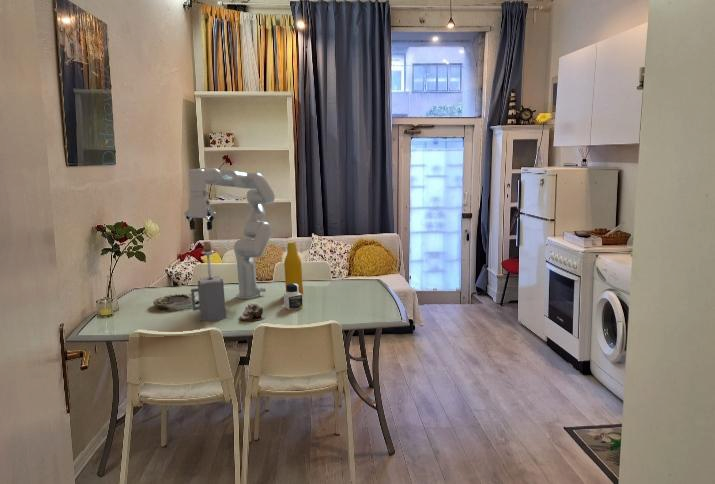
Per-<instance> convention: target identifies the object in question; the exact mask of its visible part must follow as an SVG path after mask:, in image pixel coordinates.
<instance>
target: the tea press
mask: <svg viewBox="0 0 715 484" xmlns="http://www.w3.org/2000/svg"><path fill="white" fill-rule="evenodd" d="M196 281H197V282H196V283H197V288H190V291H191V292H190V294H191V295H192V306H191V307H192V311H199V312H200V314H199V315H200V321H201V322H208V323H210V322H217V321H220V322H221V320H224V319H226V318H227V312H226V311H227V310H226V299H225V297H226V296H225V288H224V286H225V285H224V279H223V278H221V277H220V275H217V276H211V280H209V276H207V277H205V276H204V277H199V280H196ZM209 283H211V284H209ZM195 292H196V293H197V292H198V293H197V294H198V298H199V299H198V301H199V302H198V303H199V305H198V307H197V306H196V303H195V298H194V296H195Z"/></svg>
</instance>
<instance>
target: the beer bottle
mask: <svg viewBox="0 0 715 484" xmlns="http://www.w3.org/2000/svg"><path fill="white" fill-rule="evenodd" d="M286 247H287V248H286V249H287V250H286V251H287V252H286V256H285V259H284V262H283V263H284V265H283V266H284V277H285V278H284V279H285V283H284V284H285V287H286V286H287V285H288V284H292V283H295V284H298V285H299V293H300V294H302V295H303V294H304V287H303V285H304V284H303V267H302V260H301V257H300V255H299V253H298V249H297V242H296V241H288V242H287V246H286ZM285 293H287V290H286V289H285Z"/></svg>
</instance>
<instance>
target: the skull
mask: <svg viewBox="0 0 715 484" xmlns="http://www.w3.org/2000/svg"><path fill="white" fill-rule="evenodd" d="M263 313H264V307H263V305H261V304H260V303H258V302H256V301H251V302H250V303H248V304H247V306H246V307H245V308H244V311H242V315H241V316H240V317H239V319H240V320H241V321H246V322H247V321H248V322H254V321H255V322H256V321H261V320H264V319H265V317H262V316H263Z"/></svg>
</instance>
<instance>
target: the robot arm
mask: <svg viewBox="0 0 715 484" xmlns="http://www.w3.org/2000/svg"><path fill="white" fill-rule="evenodd" d="M188 177H189V179H188V182H189V192H190V193H189V194H190V195H189V196H190V197H189V201H188V210H186V211H184V213H183V214H184V216H185V219H186V220H187V221H188V222H189V229H190V230H191V231H193V230H195V229H196V222H195V219H205V220H206V221H207V222H206V230H207V231H211V230H212V229H213V221H214V219H215V216H216V215H217V212H215V211H214V210H212V206H211V202H210V201H211V200H210V199H209V196H208V195H209V192H208V191H207V185H214V186H220V187H229V188H239V189H247V190H248V189H249V190H248V191H247V192H246V200H247V203H248V205H249V214H248V216H247V219H246V222H245V224H244V227H243V230H242V231H243V232H242V233H243V235H244V236H245V238H239V239H238V240H236V241H235V243H234V245H233V252H234V255H235V259H236V260H235V261H236V268H237V281H238V291H239V293H237V294H236V298H237V299H238V300H239V299H241V300H249V299H255V298H259V297H260V296H261V293H262V292H263V293H264V292H266V288H265V287H259V288H258V286H257V273H256V272H257V270H256V262H255V260H254V258H255V259H256V258H261V257H262V256H263V255H264V254H265V251H266V250H267V246H268V244H269V242H270V238H271V236H272V226H271V224H270V223H269V222H267V221H265V218H266V211H265V208H264V206H263V205H271V204H273V202H274V201H275V197H276V195H275V193H274V191H273V189H272V187H271V185H270V184H269V182H268V181H267V180H266V178H265V177H264V175H262V174H261V173H259V172H245V171H239V170H232V169H221V170H219V169H218V168H215V167H200V168H192V169H189V171H188Z"/></svg>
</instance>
